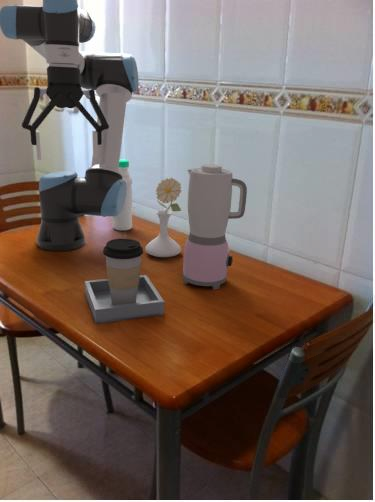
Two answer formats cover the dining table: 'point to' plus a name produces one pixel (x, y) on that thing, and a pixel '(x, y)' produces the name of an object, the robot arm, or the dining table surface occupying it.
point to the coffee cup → (123, 269)
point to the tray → (107, 312)
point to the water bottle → (125, 216)
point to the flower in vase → (165, 220)
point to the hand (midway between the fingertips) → (67, 158)
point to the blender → (210, 224)
